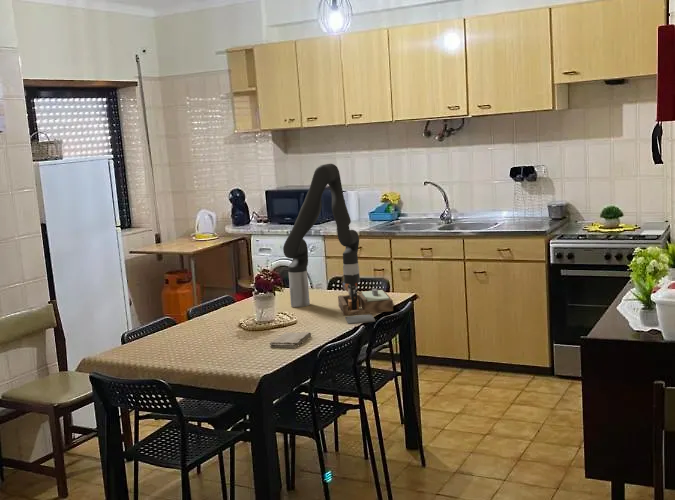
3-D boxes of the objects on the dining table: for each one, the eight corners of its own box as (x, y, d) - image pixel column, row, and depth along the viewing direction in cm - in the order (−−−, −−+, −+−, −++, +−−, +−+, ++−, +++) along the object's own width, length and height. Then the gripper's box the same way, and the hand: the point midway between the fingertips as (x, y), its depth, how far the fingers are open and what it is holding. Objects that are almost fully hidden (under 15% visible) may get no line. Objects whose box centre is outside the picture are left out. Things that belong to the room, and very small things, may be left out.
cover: (367, 301, 353) (367, 294, 353) (361, 293, 372) (361, 286, 371) (389, 299, 354) (388, 292, 354) (382, 291, 373) (381, 285, 372)
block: (349, 310, 360) (349, 301, 360) (348, 308, 365) (347, 299, 364) (359, 310, 361) (358, 300, 360) (357, 307, 365) (357, 298, 365)
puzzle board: (343, 315, 352) (343, 305, 351) (338, 305, 373) (337, 295, 372) (393, 310, 354) (392, 300, 353) (385, 301, 375) (384, 291, 374)
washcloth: (268, 349, 307) (267, 341, 307) (285, 337, 324) (284, 329, 323) (296, 349, 303) (295, 342, 303) (311, 337, 320) (311, 330, 320)
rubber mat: (348, 324, 336) (348, 322, 336) (345, 317, 347) (345, 316, 347) (375, 321, 337) (375, 320, 337) (371, 315, 349) (371, 314, 349)
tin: (341, 288, 413) (340, 273, 411) (346, 288, 414) (345, 272, 413) (353, 293, 399) (352, 277, 398) (359, 292, 400) (358, 276, 399)
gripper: (341, 270, 367) (344, 305, 369) (345, 276, 353) (347, 312, 355) (357, 269, 368) (359, 304, 370) (361, 274, 353) (363, 310, 356)
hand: (353, 308), depth 363 cm, fingers closed on block, 4 cm apart
